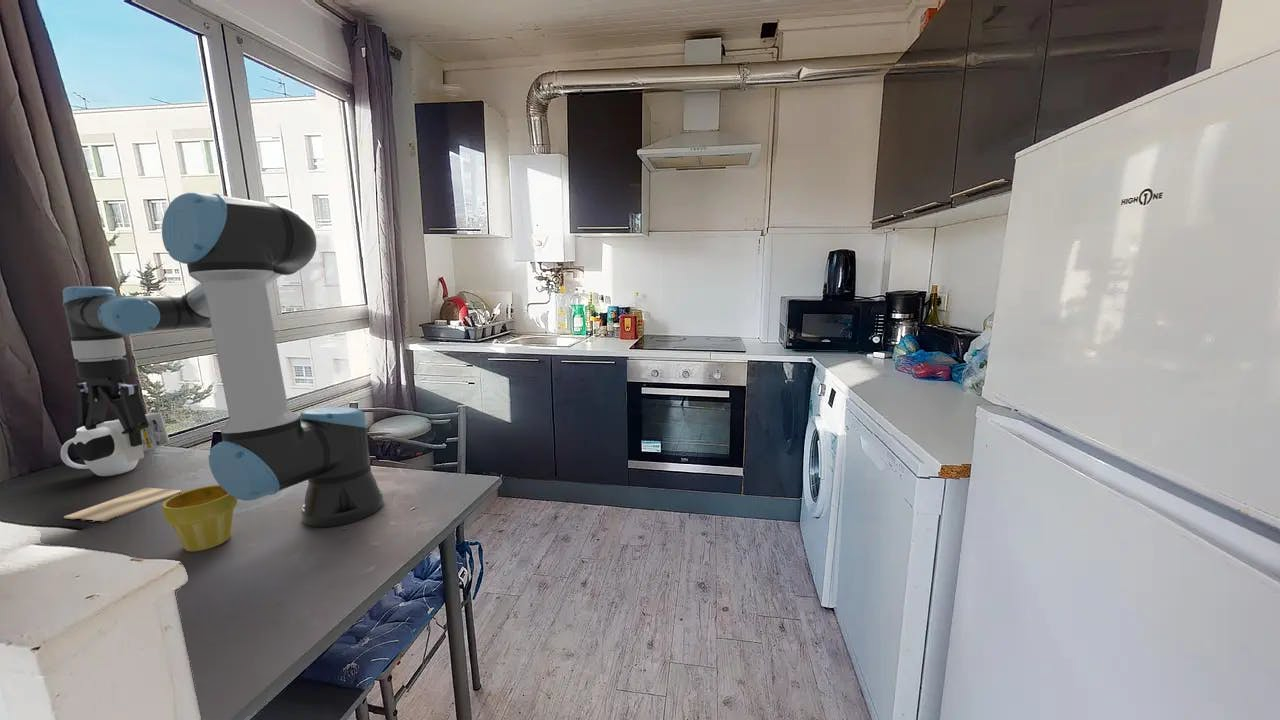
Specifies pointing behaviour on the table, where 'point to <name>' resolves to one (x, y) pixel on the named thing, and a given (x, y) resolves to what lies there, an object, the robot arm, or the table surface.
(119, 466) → the mug
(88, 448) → the container
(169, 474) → the table surface
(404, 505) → the table surface
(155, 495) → the wooden board
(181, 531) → the plant pot
